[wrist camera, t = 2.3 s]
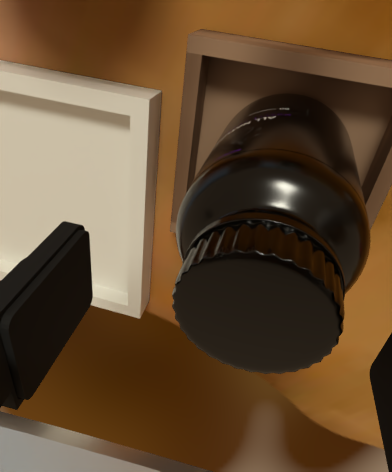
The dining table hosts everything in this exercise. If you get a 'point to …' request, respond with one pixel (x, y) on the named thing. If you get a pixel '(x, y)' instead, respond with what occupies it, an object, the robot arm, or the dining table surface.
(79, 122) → the tray
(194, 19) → the dining table surface
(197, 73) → the holder
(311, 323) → the supplement bottle
